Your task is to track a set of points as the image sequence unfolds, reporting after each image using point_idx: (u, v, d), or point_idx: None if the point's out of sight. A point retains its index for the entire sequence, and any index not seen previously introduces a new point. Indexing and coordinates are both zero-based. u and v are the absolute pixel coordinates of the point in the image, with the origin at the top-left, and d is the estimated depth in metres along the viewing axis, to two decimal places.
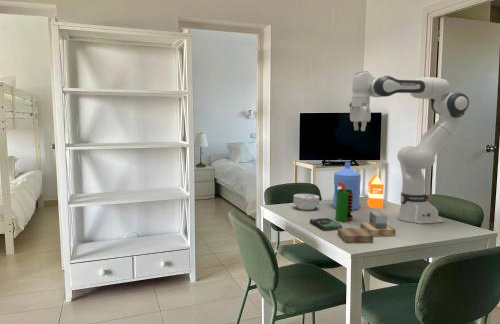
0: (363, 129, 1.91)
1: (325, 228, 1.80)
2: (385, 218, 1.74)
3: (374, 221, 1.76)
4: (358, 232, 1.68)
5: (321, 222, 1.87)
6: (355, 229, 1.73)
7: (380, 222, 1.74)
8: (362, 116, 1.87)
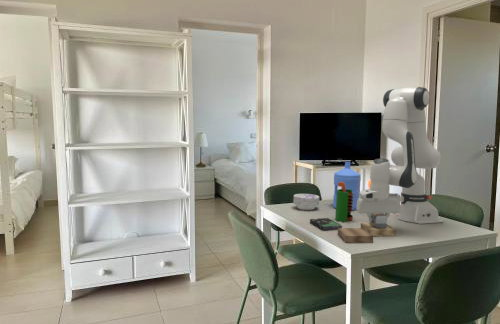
0: None
1: (324, 228, 1.80)
2: (385, 218, 1.74)
3: (374, 221, 1.76)
4: (358, 232, 1.68)
5: (321, 222, 1.88)
6: (355, 229, 1.73)
7: (380, 222, 1.74)
8: (397, 207, 1.76)
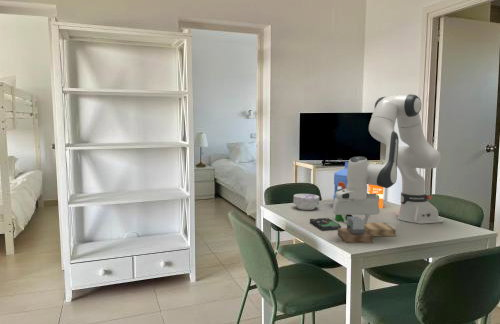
0: None
1: (323, 228, 1.80)
2: (362, 223, 1.64)
3: (351, 227, 1.66)
4: None
5: (320, 222, 1.88)
6: None
7: (357, 228, 1.64)
8: (376, 208, 1.66)
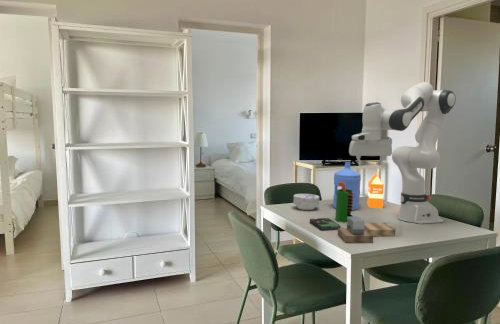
0: None
1: (322, 228, 1.80)
2: (362, 223, 1.64)
3: (351, 227, 1.66)
4: None
5: (320, 222, 1.88)
6: None
7: (357, 228, 1.64)
8: (389, 150, 1.81)
